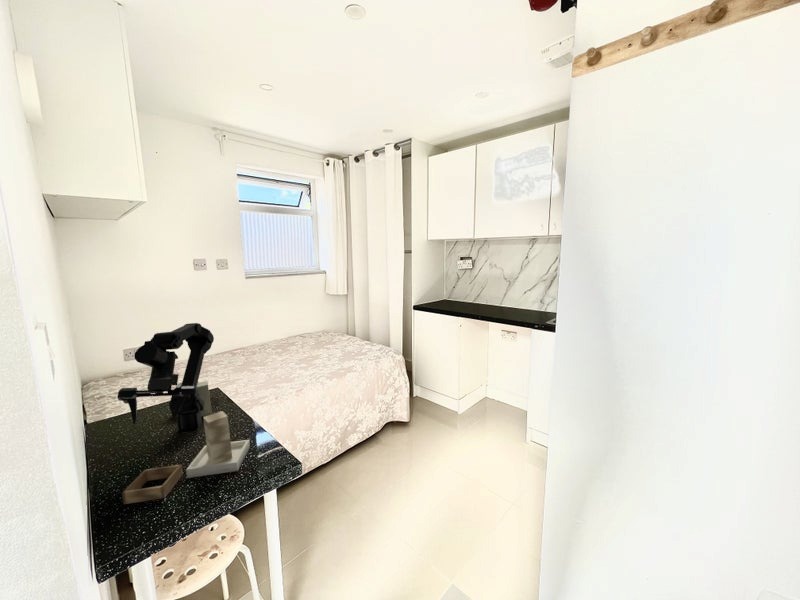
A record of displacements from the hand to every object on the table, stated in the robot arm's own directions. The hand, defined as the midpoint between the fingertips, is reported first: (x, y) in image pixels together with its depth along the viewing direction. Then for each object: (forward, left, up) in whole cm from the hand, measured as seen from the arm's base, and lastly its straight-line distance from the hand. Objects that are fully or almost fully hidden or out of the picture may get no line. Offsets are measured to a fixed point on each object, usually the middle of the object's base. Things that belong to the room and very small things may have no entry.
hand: (154, 423), depth 94 cm
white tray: (-19, +5, -12) cm, 23 cm away
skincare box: (0, -32, -12) cm, 35 cm away
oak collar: (-6, +13, -12) cm, 19 cm away
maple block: (-19, +5, -11) cm, 22 cm away
